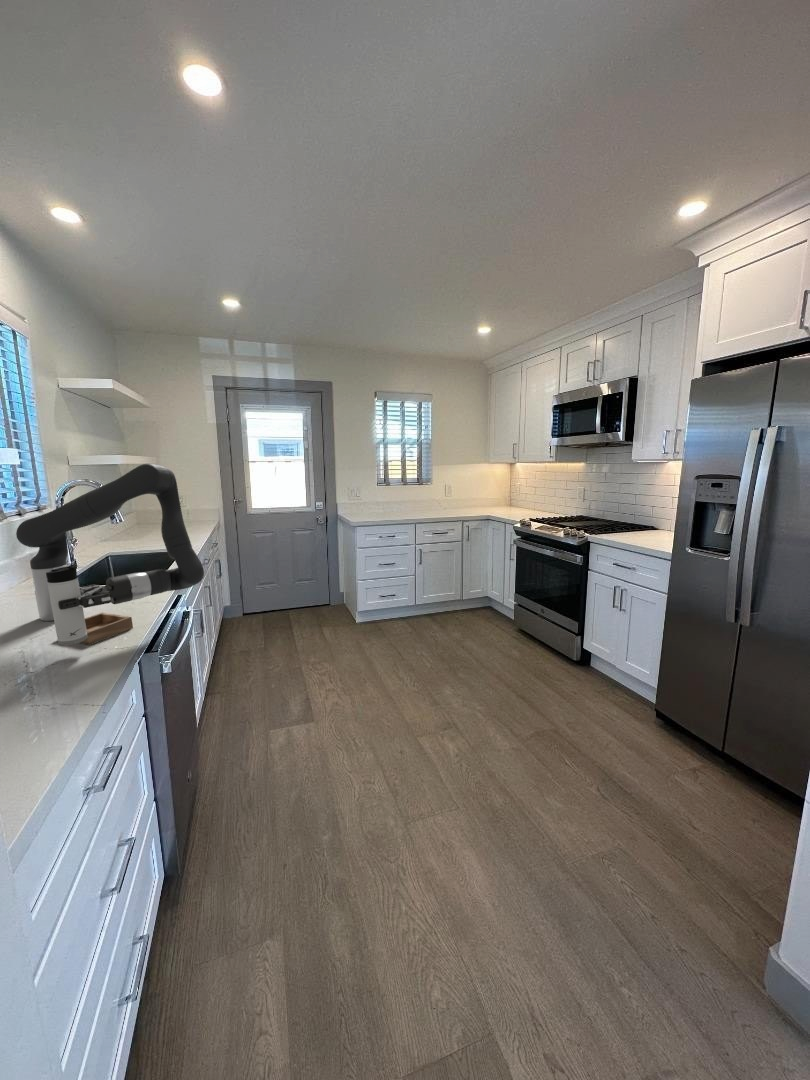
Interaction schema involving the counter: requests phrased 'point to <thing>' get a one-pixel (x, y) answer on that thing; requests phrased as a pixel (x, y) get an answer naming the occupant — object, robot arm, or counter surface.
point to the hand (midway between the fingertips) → (55, 602)
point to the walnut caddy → (105, 626)
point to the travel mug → (71, 619)
